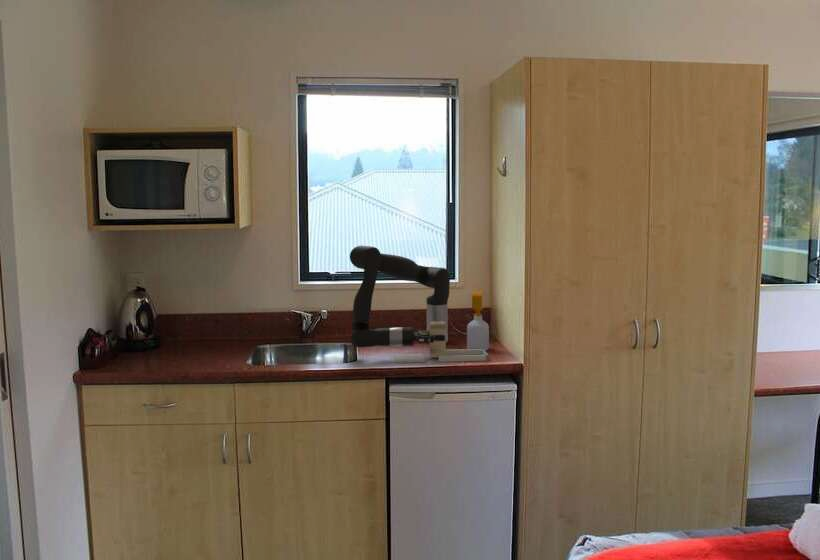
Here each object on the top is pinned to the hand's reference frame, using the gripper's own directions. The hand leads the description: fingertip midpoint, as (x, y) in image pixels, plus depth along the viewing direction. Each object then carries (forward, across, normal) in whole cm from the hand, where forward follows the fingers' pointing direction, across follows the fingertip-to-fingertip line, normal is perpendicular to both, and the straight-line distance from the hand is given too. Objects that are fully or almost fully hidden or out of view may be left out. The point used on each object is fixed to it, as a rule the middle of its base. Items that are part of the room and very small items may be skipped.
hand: (443, 336), depth 254 cm
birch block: (-3, 0, +8) cm, 8 cm away
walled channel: (+7, 0, +9) cm, 11 cm away
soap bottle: (+16, +14, +9) cm, 23 cm away
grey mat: (-13, 0, +9) cm, 16 cm away
